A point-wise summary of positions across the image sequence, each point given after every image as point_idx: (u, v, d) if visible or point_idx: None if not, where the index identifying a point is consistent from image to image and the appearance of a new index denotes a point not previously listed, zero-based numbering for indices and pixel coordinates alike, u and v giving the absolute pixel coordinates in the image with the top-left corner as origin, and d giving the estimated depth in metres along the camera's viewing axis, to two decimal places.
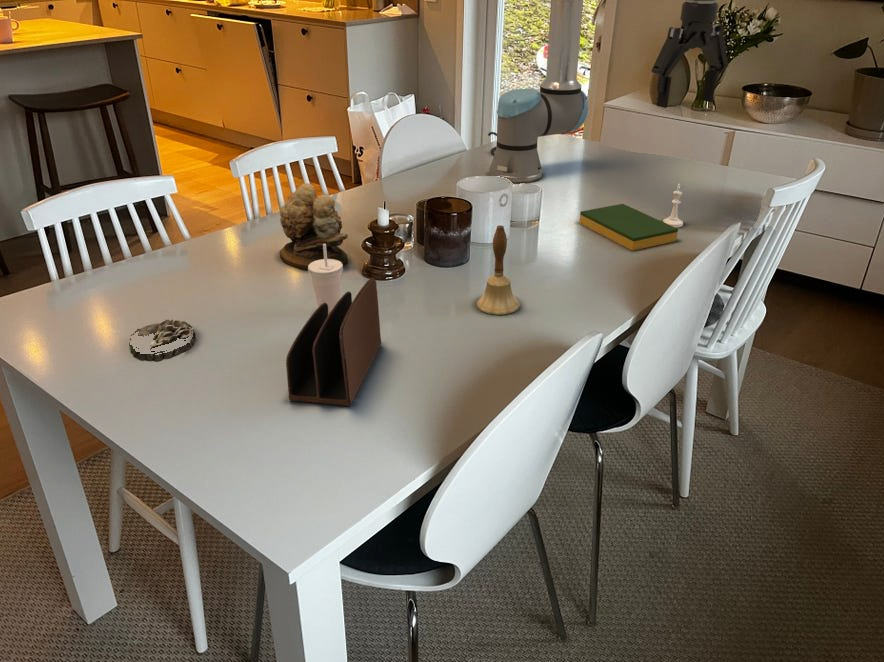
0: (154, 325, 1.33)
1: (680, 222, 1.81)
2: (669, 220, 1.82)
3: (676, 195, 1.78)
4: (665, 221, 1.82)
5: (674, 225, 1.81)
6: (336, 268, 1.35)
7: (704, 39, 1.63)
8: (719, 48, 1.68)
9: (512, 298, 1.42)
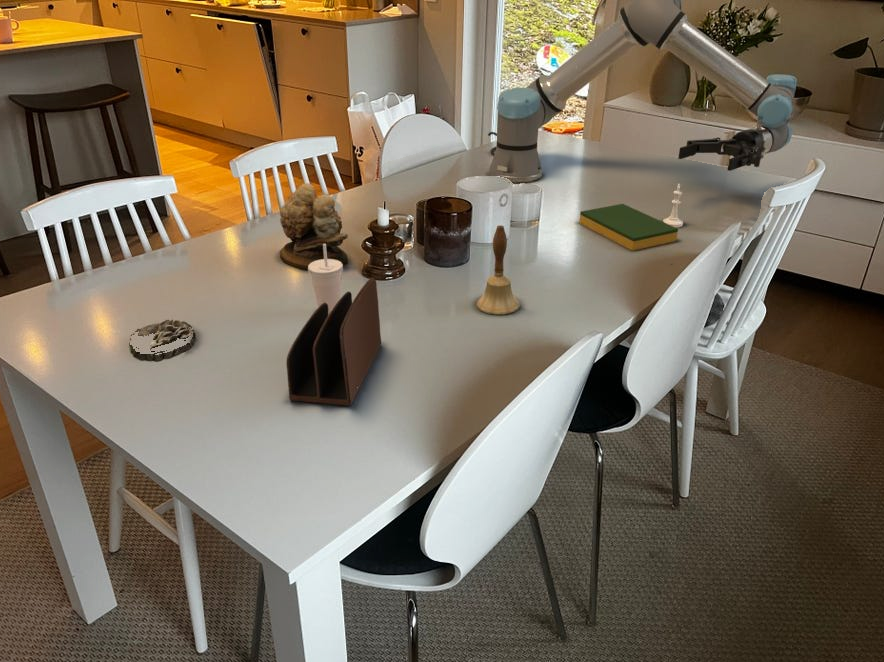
0: (154, 325, 1.33)
1: (680, 222, 1.81)
2: (669, 220, 1.82)
3: (676, 195, 1.78)
4: (665, 221, 1.82)
5: (674, 225, 1.81)
6: (336, 268, 1.35)
7: (740, 144, 1.87)
8: (756, 153, 1.83)
9: (512, 298, 1.42)
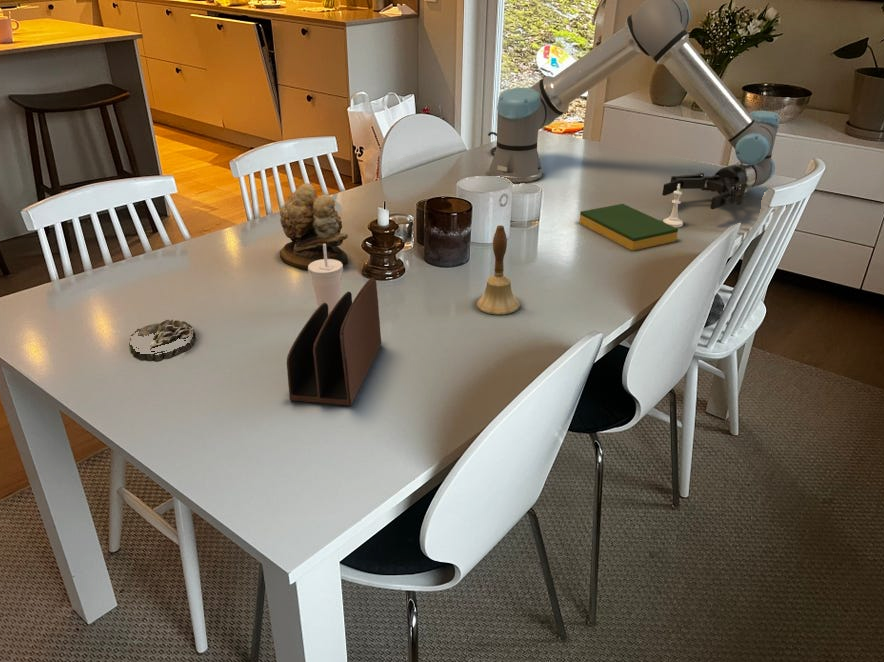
0: (154, 325, 1.33)
1: (680, 222, 1.81)
2: (669, 220, 1.82)
3: (676, 195, 1.78)
4: (665, 221, 1.82)
5: (674, 225, 1.81)
6: (336, 268, 1.35)
7: (724, 180, 1.89)
8: None
9: (512, 298, 1.42)
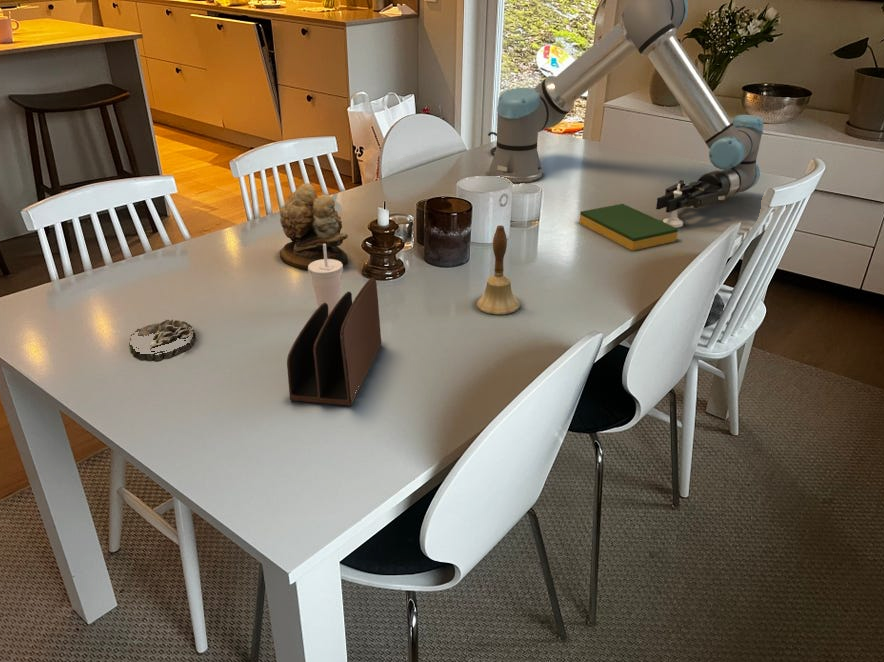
0: (154, 325, 1.33)
1: (680, 222, 1.81)
2: (669, 220, 1.82)
3: (676, 195, 1.78)
4: (665, 221, 1.82)
5: (674, 225, 1.81)
6: (336, 268, 1.35)
7: None
8: None
9: (512, 298, 1.42)
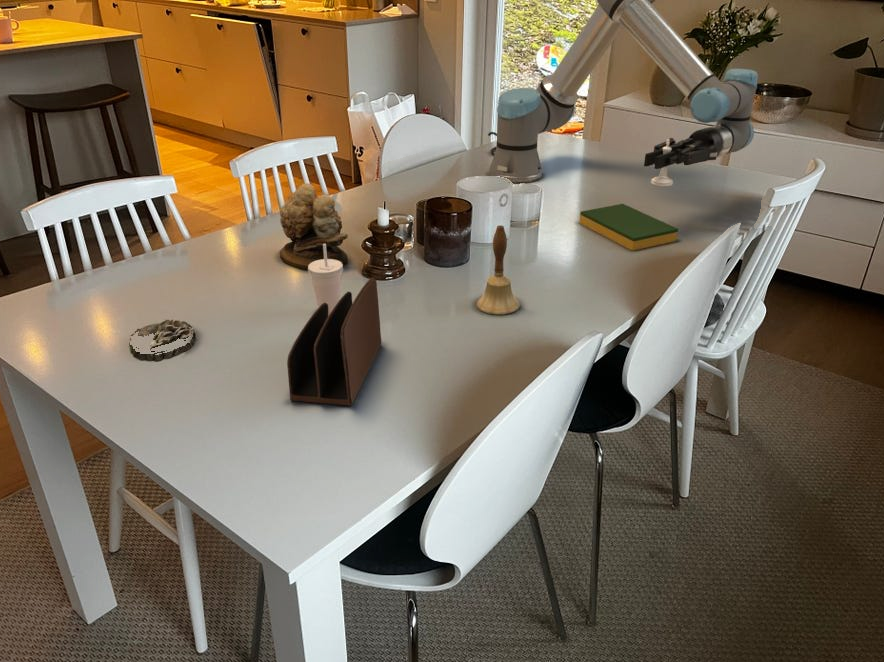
0: (154, 325, 1.33)
1: (670, 180, 1.71)
2: (658, 179, 1.71)
3: (665, 151, 1.68)
4: (654, 180, 1.71)
5: (663, 183, 1.70)
6: (336, 268, 1.35)
7: None
8: None
9: (512, 298, 1.42)
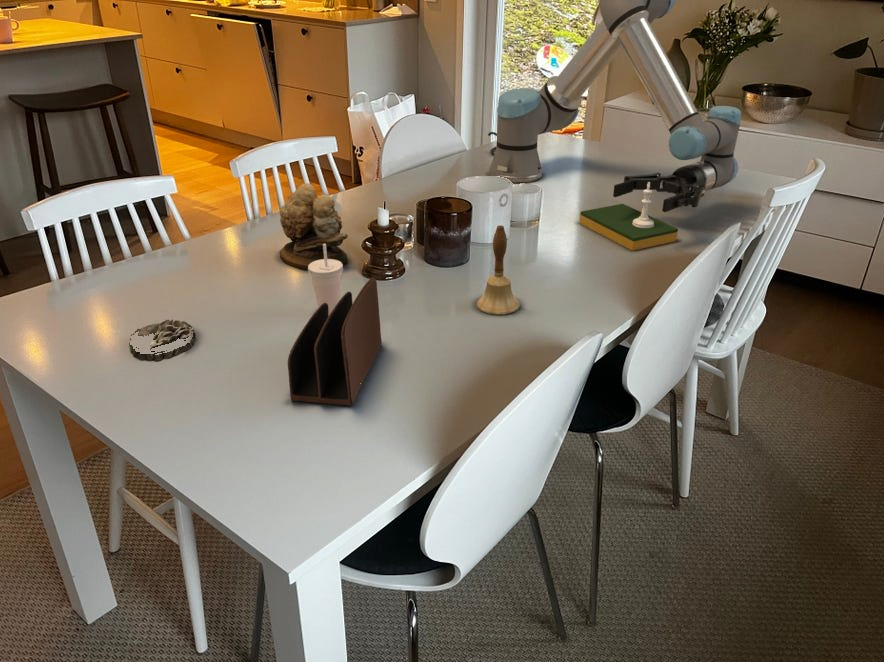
0: (154, 325, 1.33)
1: (651, 222, 1.72)
2: (639, 221, 1.73)
3: (646, 194, 1.70)
4: (635, 221, 1.73)
5: (644, 226, 1.72)
6: (336, 268, 1.35)
7: (680, 181, 1.75)
8: None
9: (512, 298, 1.42)
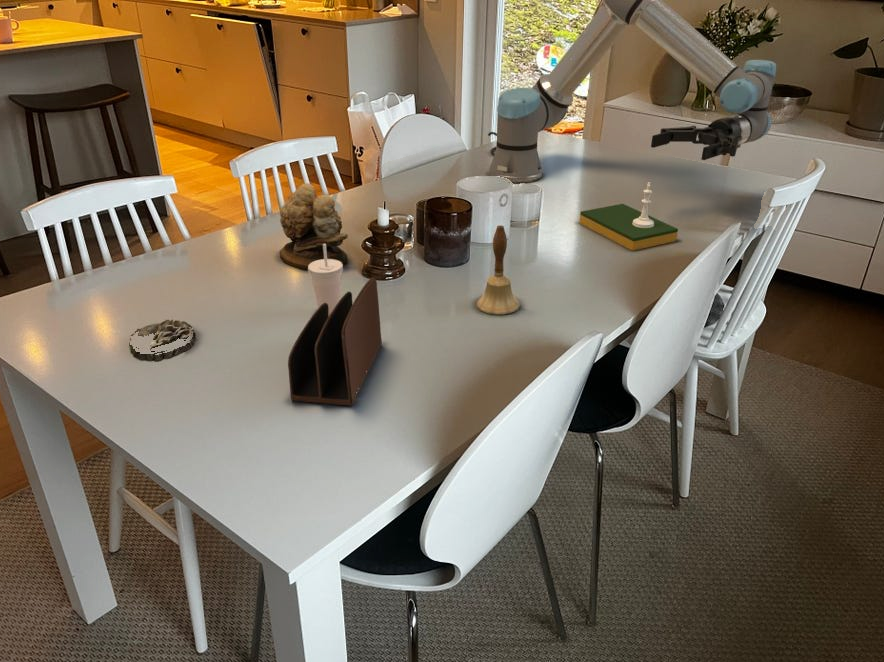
0: (154, 325, 1.33)
1: (651, 222, 1.72)
2: (639, 221, 1.73)
3: (646, 194, 1.70)
4: (635, 221, 1.73)
5: (644, 226, 1.72)
6: (336, 268, 1.35)
7: (716, 132, 1.78)
8: None
9: (512, 298, 1.42)
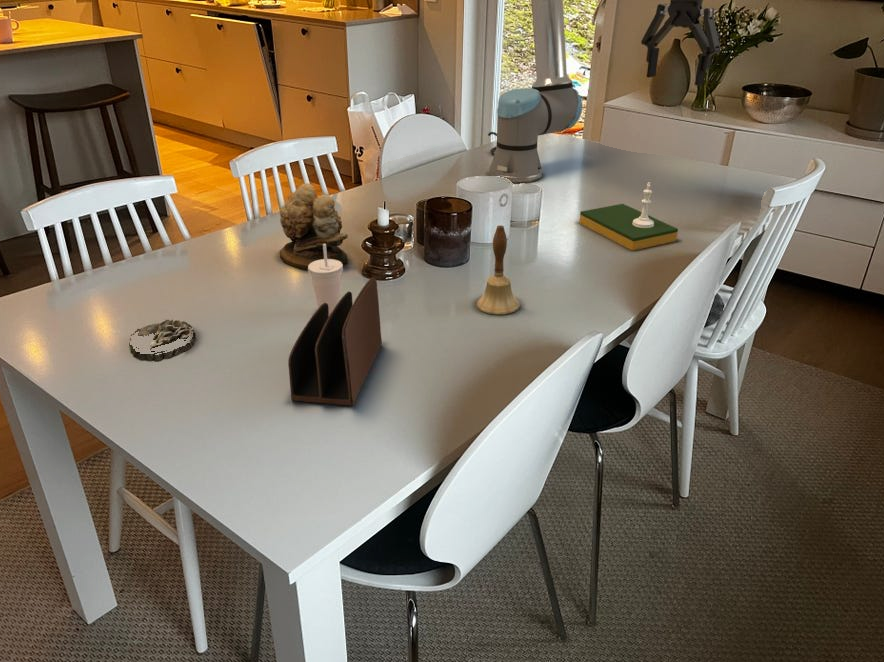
0: (154, 325, 1.33)
1: (651, 222, 1.72)
2: (639, 221, 1.73)
3: (646, 194, 1.70)
4: (635, 221, 1.73)
5: (644, 226, 1.72)
6: (336, 268, 1.35)
7: None
8: None
9: (512, 298, 1.42)
